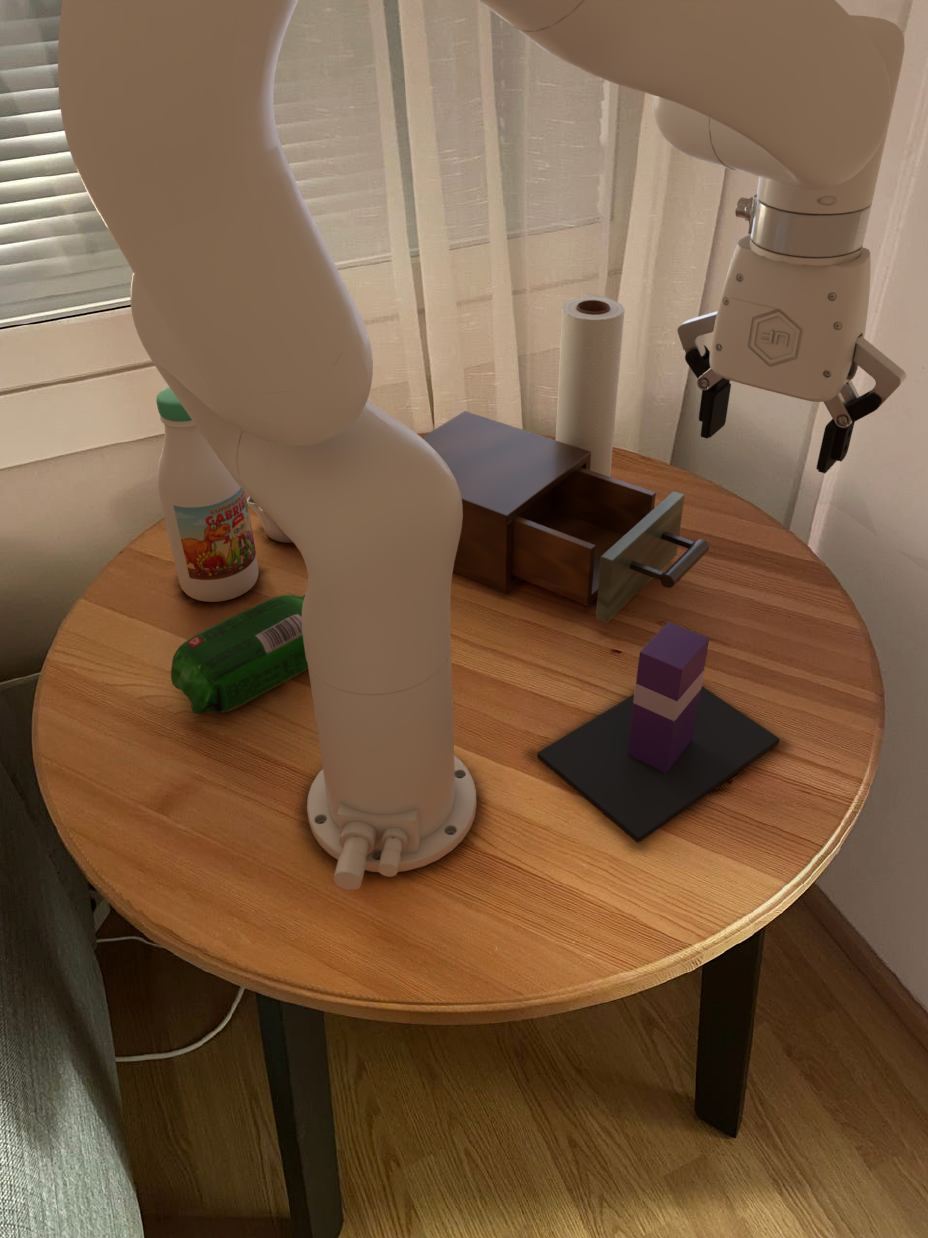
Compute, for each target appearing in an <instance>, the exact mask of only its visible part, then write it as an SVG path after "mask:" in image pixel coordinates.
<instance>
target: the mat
mask: <svg viewBox="0 0 928 1238" xmlns="http://www.w3.org/2000/svg"><path fill="white" fill-rule="evenodd" d="M633 700H634V694H632V695H631V696H629V697H627V698H626V699H624V700H622V701H620V702H619V703H617V704H616V705H614V706H613V707H611V708H609V709H607V710H606V711H603V712H602V713H601V714H599V715H597V716H596V717H594V718H592V719H591V720H589V721H588V722H585V723H584V724H582V725H581V726H579V727H578V728H576V729H574V730H572V731H571V732H569V733H568V734H566V735H564V736H563V737H561V738H559V739H557V740H556V741H555V742H552V743H551V744H550V745H547V746H546V747H545V748H543V749H541V750H540V751H538V752H537V753H536V754H537V759H538V760H539V761H540V762H542V763H543V764H544V765H545V766H547V767H548V768H549V769H550V770H551V771H552V772H554V773H555V774H556V775H557V776H558V777H559V778H561V779H562V780H563V781H564V782H565V783H566V784H568V785H569V786H570V787H571V788H572V789H574V790H575V791H576V792H577V793H578V794H580V795H581V796H582V797H583V798H584V799H585V800H587V801H588V802H589V803H590V804H592V806H593V807H595V808H596V809H597V810H598V811H600V812H601V813H602V814H603V815H605V817H607V818H608V819H609V820H610V821H612V823H614V824H615V825H616V826H617V827H618V828H620V829H621V830H622V831H623V832H625V834H627V835H628V836H629V837H631V838H632V840H634V841H635V842H636V843H638V844H639V843H641V842H642V841H644V840H645V839H647V838H648V837H649V836H650V835H652V834H654V832H657V831H658V830H659V829H660V828H662V827H664V826H665V825H666V824H668V823H669V822H671V821H672V820H673V819H674V818H676V817H677V816H679V815H680V814H682V813H683V812H685V811H686V810H687V809H688V808H690V807H691V806H693V805H694V804H696V803H697V802H699V801H700V800H701V799H703V798H704V797H706V796H707V795H708V794H710V793H711V792H713V791H714V790H715V789H717V788H718V787H720V786H721V785H722V784H724V783H725V782H727V781H728V780H729V779H731V778H732V777H734V776H735V775H737V774H738V773H739V772H741V771H742V770H744V769H745V768H747V767H748V766H749V765H751V764H752V763H753V762H755V761H756V760H758V759H760V758H761V757H762V756H764V755H765V754H766V753H768V752H769V751H771V750H772V749H773V748H775V747H776V746H777V745H779V744H780V737H778V736H776V735H775V734H774V733H772V732H771V731H769V730H768V729H766V728H765V727H764V726H762V725H760V724H758V722H756V721H754V720H753V719H751V718H750V717H749V716H747V715H746V714H744V713H743V712H742V711H740V710H738V709H737V708H735V707H734V706H732V704H730V703H727V702H726V701H725V700H724V699H722V698H720V697H719V696H717V695H716V694H715V693H713V692H712V691H710V690H708V689H707V688H706V687H704V686H703V685H702V688H701V691H700V697H699V702H698V708H697V714H696V719H695V725H694V731H693V737H692V741H691V742H690V743H689V745H688V746H687V747H686V748H685V750H684V751H683V752H682V754H681V755H680V756H679V757H678V759H677V760H676V761H675V762H674V764H673V765H672V766H671V767H670V769H669V770H668V771H667V772H666V773H664V772H662V771H660V770H658V769H656V768H654V767H652V766H650V765H648V764H646V763H643V762H641V761H639V760H637V759H635V758H633V757H631V756H629V755H627V753H628V745H629V736H630V728H631V720H632V712H633Z"/></svg>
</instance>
